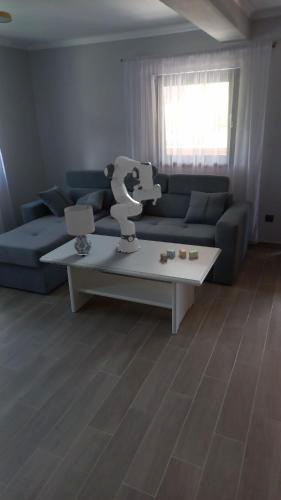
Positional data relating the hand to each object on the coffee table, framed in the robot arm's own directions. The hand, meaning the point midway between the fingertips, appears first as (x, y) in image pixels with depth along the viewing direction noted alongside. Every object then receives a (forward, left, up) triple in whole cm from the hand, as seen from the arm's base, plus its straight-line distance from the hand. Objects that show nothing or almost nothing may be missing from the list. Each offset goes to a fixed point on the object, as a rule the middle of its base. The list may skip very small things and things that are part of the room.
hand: (147, 205), depth 243 cm
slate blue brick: (-2, +17, -42) cm, 45 cm away
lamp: (-40, -43, -42) cm, 72 cm away
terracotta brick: (+2, +25, -42) cm, 49 cm away
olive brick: (+8, +31, -42) cm, 53 cm away
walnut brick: (+3, +9, -42) cm, 43 cm away
